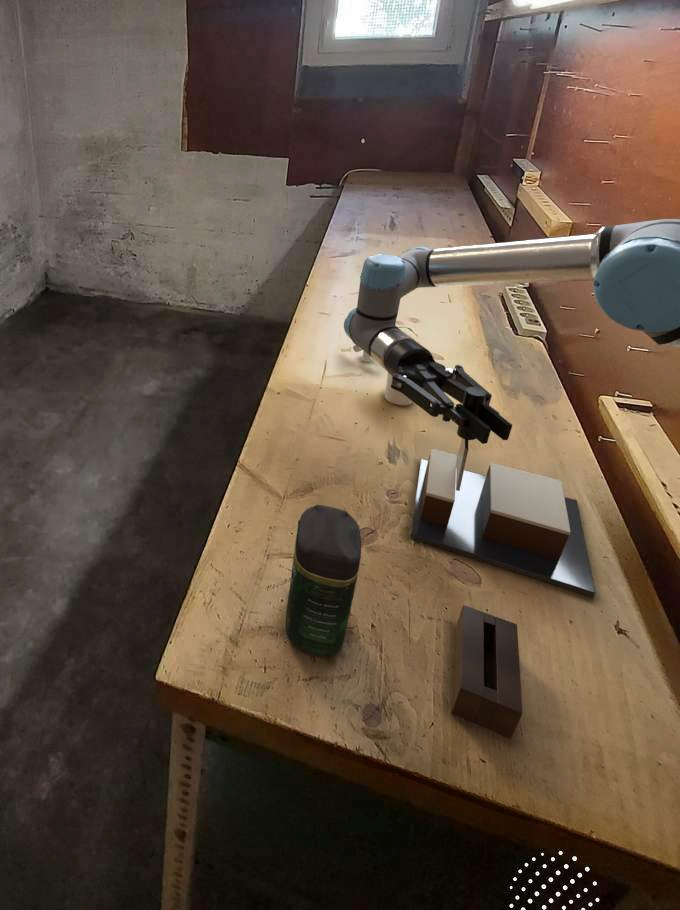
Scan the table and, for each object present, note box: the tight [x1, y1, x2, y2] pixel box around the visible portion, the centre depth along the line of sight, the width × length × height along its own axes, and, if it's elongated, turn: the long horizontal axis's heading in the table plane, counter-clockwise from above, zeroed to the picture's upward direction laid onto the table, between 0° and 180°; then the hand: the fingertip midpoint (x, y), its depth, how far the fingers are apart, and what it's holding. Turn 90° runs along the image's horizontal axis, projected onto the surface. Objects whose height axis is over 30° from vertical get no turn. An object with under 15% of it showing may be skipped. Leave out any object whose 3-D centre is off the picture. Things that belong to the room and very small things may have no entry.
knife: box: [456, 387, 486, 491], centre depth 89 cm, size 8×3×16 cm, turn 152°
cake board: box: [409, 458, 597, 598], centre depth 92 cm, size 24×20×1 cm
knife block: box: [451, 604, 524, 739], centre depth 69 cm, size 12×6×5 cm, turn 151°
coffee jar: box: [285, 504, 362, 658], centre depth 73 cm, size 10×8×19 cm
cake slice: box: [420, 448, 458, 528], centre depth 95 cm, size 4×12×6 cm, turn 152°
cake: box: [482, 462, 571, 561], centre depth 90 cm, size 10×12×6 cm
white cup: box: [384, 372, 414, 406], centre depth 123 cm, size 7×7×10 cm
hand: (497, 434), depth 82 cm, fingers closed on knife, 3 cm apart
